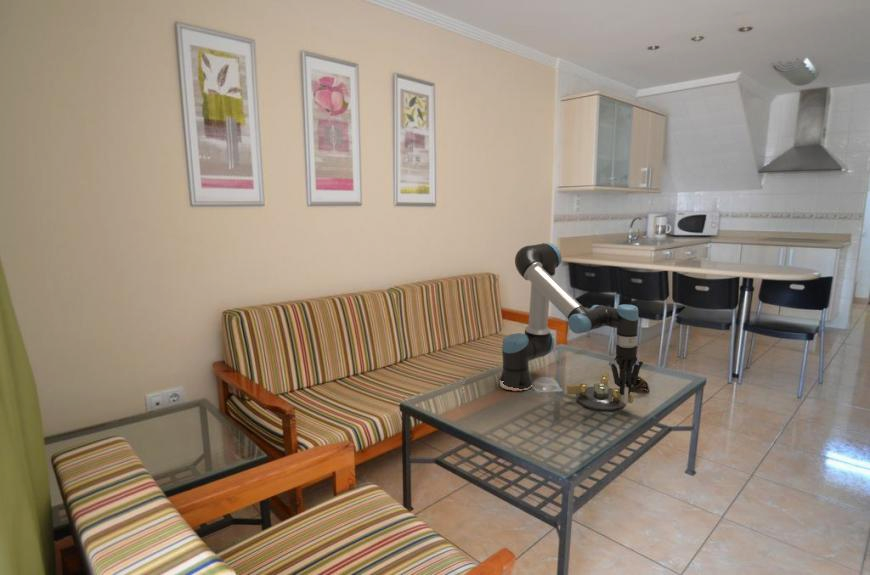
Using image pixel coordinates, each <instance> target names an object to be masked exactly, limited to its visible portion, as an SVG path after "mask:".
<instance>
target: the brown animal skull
mask: <svg viewBox="0 0 870 575" xmlns="http://www.w3.org/2000/svg"><path fill="white" fill-rule="evenodd" d="M643 390H647V392H648V393H649V392H650V388H649V384H648V381H646V380H645V379H644V378H643V377H641V376H639V375H638V377H637V381H636V384H635V385H632V388H630V393H636V392H643ZM650 393H651V392H650Z"/></svg>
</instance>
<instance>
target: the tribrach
mask: <svg viewBox="0 0 870 575" xmlns="http://www.w3.org/2000/svg"><path fill="white" fill-rule="evenodd" d="M613 389H614V388H611V387H610V386H609V385H606V384H603V383H601V382H600V383H599V382H598V383H597V382H596V383H594V384H593V386H587V397H580V394H575V400H576V402H577V403H578V404H579V405H580V406H582V407H583V408H586V409H588V410H591V411H597V412H598V411H599V412H616V411H620V410H622V409H624V408H625V407H626V406H627V403H625V404H624V403H623V402H622V401H621V400H620V402H619V403H615V402H613V401H612V394H613Z"/></svg>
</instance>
